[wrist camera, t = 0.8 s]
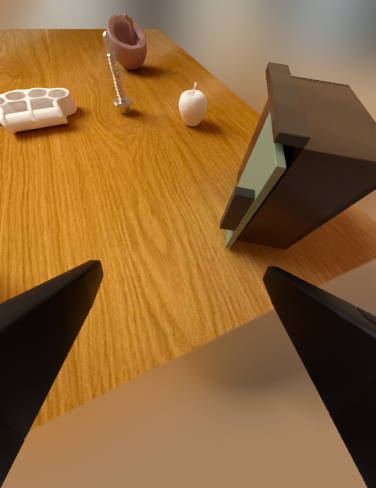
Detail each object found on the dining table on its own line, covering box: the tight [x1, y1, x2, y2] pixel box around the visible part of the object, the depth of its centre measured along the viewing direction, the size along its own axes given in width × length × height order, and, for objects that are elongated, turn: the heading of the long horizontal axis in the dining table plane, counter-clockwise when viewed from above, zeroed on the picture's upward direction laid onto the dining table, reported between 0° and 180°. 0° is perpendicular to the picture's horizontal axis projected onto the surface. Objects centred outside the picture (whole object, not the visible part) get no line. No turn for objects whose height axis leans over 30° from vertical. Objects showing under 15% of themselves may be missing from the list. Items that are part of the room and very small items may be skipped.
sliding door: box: [220, 112, 286, 248], centre depth 20 cm, size 9×3×14 cm, turn 169°
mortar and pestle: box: [107, 13, 147, 70], centre depth 50 cm, size 12×12×12 cm
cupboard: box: [237, 62, 376, 250], centre depth 22 cm, size 16×10×16 cm, turn 169°
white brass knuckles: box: [0, 88, 77, 133], centre depth 36 cm, size 3×18×15 cm
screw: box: [103, 31, 133, 114], centre depth 36 cm, size 13×5×5 cm
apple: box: [179, 82, 207, 127], centre depth 37 cm, size 7×7×8 cm
